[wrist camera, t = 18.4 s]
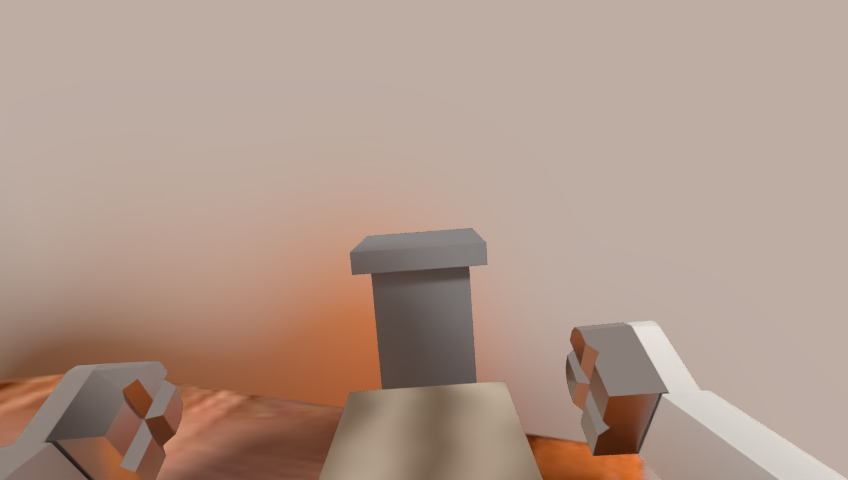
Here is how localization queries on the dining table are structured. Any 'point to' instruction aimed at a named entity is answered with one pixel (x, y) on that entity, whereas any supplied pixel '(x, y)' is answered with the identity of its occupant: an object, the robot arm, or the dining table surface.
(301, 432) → the dining table surface
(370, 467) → the cutting board
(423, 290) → the plinth
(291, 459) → the dining table surface
